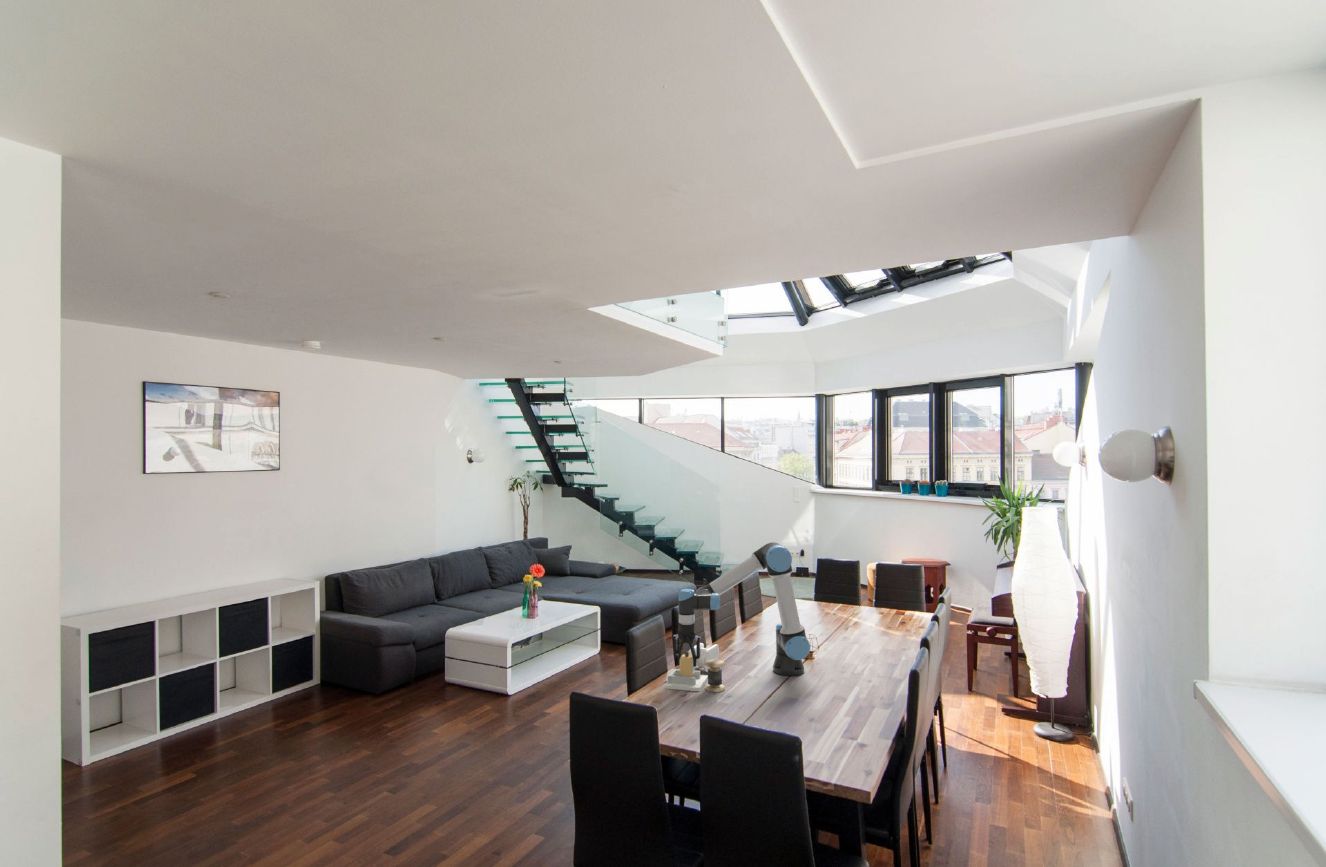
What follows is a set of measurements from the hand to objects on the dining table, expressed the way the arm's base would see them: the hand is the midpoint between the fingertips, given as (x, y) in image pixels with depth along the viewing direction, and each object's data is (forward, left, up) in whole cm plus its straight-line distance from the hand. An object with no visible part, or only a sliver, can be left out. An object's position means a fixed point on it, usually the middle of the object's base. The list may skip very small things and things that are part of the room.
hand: (687, 672), depth 314 cm
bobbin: (-14, +4, -5) cm, 15 cm away
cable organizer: (-3, -22, -5) cm, 23 cm away
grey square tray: (0, 0, -5) cm, 5 cm away
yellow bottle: (0, 0, 0) cm, 0 cm away
